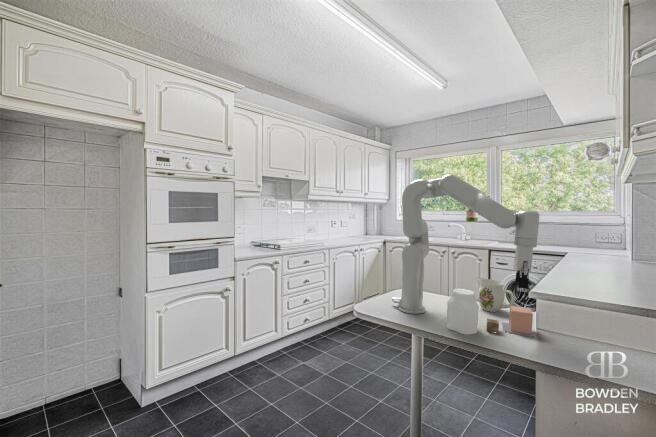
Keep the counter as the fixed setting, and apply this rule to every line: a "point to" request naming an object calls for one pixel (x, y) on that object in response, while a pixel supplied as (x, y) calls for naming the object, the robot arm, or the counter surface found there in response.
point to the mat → (507, 329)
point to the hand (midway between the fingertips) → (521, 285)
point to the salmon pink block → (520, 319)
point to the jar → (462, 312)
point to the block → (492, 325)
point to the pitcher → (492, 295)
